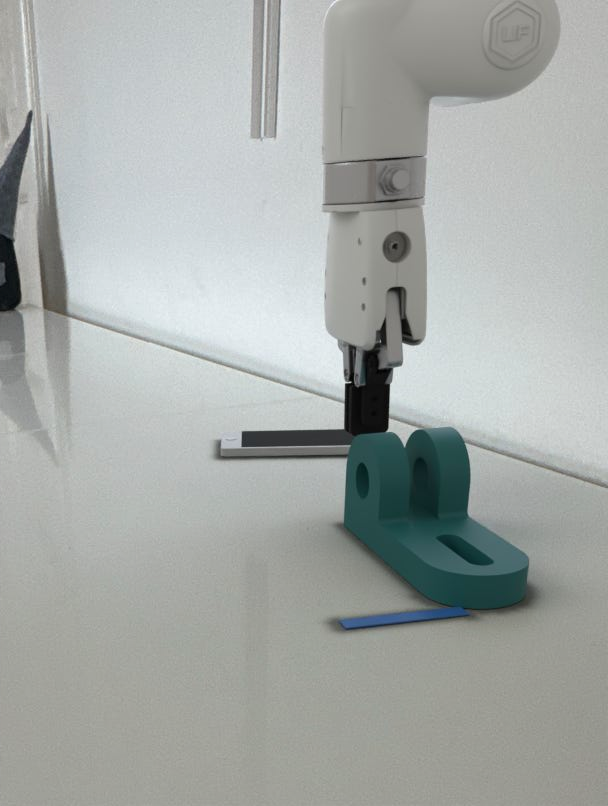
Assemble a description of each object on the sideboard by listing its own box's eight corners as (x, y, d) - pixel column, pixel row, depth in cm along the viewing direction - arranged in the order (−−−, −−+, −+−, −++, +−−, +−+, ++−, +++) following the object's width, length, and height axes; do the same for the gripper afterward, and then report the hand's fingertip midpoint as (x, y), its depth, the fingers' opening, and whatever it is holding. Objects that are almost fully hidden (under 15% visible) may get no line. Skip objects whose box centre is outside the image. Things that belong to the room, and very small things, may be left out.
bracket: (343, 525, 78) (348, 425, 75) (425, 517, 79) (433, 418, 76) (444, 613, 62) (456, 491, 59) (545, 602, 63) (562, 481, 60)
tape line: (460, 607, 63) (460, 606, 63) (469, 615, 62) (469, 613, 62) (338, 621, 62) (339, 620, 62) (345, 629, 61) (345, 627, 61)
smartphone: (222, 439, 105) (222, 430, 104) (372, 436, 103) (373, 427, 102) (220, 457, 98) (220, 447, 98) (381, 454, 96) (381, 444, 96)
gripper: (467, 183, 68) (450, 448, 76) (381, 183, 81) (374, 409, 89) (362, 192, 67) (355, 459, 75) (292, 191, 80) (293, 418, 88)
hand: (366, 431), depth 82 cm, fingers closed
